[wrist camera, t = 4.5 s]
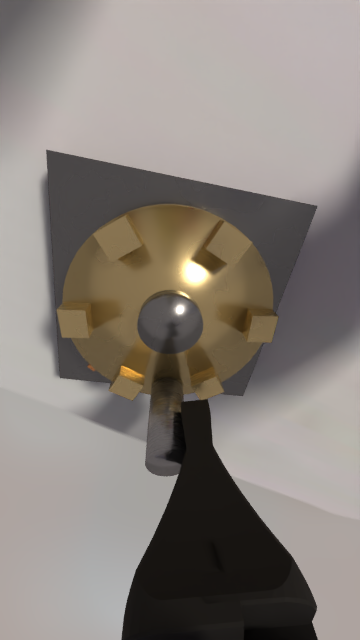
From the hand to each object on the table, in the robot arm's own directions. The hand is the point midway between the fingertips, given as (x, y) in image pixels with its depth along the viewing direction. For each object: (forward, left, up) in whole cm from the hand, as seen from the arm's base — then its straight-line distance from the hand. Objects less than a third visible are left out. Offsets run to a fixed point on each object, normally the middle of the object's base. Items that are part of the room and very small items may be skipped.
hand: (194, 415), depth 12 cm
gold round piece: (-4, -2, -4) cm, 6 cm away
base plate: (-4, -2, -5) cm, 7 cm away
